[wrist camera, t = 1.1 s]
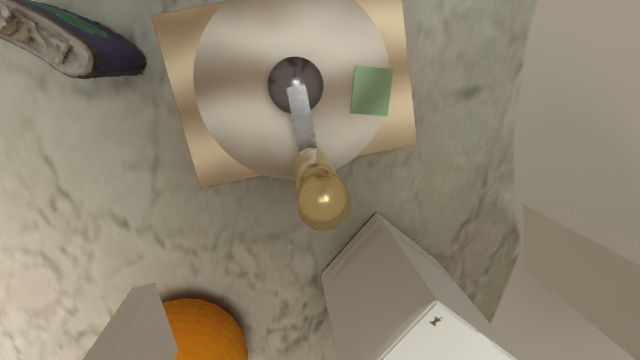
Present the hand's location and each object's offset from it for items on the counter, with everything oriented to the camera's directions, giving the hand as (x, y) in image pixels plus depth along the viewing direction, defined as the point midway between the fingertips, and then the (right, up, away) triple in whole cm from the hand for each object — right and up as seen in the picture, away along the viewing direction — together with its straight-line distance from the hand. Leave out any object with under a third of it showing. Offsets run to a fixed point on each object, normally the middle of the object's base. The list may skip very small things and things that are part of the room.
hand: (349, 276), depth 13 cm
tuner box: (-3, +12, +19) cm, 23 cm away
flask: (-19, +15, +17) cm, 30 cm away
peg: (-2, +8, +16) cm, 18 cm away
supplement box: (+5, -6, +25) cm, 26 cm away
